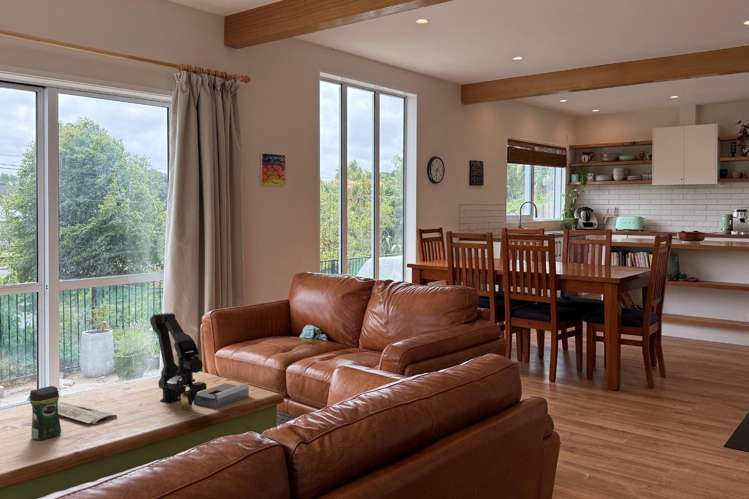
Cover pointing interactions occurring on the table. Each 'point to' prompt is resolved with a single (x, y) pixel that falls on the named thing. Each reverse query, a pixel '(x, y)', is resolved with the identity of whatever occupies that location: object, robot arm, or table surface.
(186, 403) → the bushing
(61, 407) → the newspaper
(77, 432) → the table surface
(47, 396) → the coffee jar
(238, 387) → the block
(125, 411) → the table surface
